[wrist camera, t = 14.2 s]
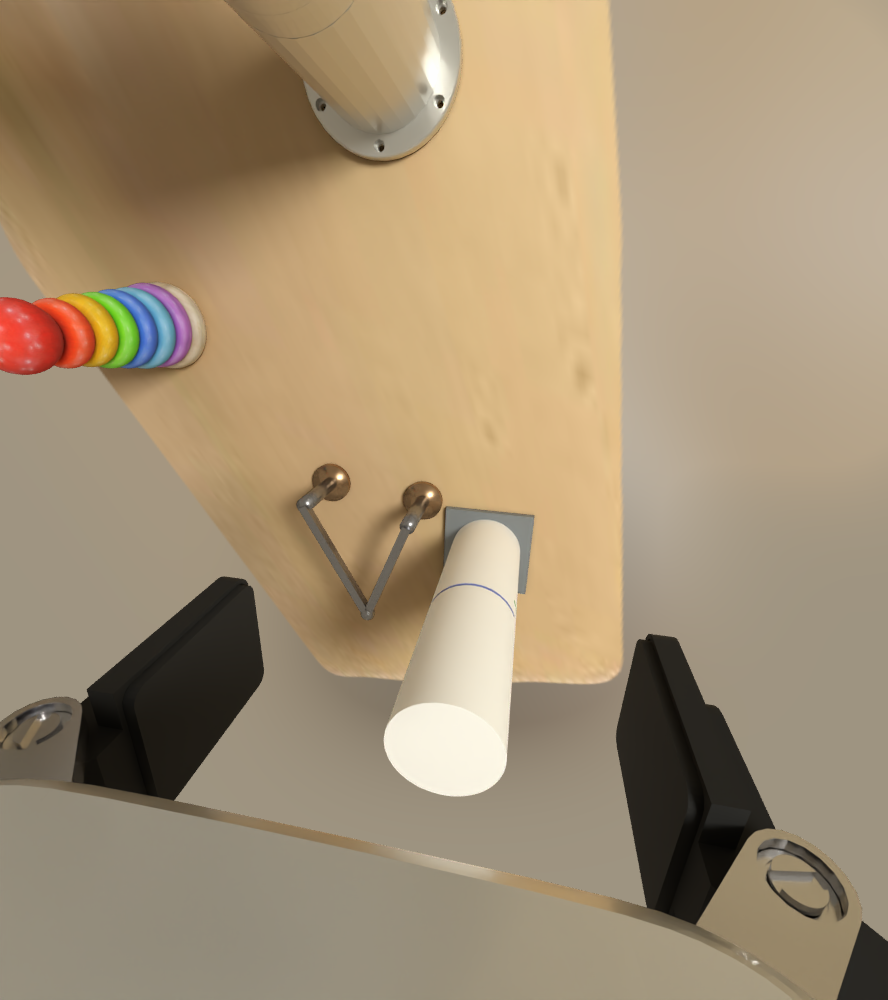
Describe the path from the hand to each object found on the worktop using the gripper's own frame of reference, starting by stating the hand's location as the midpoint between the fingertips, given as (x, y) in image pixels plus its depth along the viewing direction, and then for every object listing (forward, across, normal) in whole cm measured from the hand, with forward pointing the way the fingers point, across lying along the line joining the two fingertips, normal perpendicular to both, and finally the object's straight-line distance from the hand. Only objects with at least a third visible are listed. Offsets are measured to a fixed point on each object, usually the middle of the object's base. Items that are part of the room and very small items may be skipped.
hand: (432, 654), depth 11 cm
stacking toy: (+36, +34, -5) cm, 50 cm away
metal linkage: (+36, +13, +15) cm, 41 cm away
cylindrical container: (+36, +1, +16) cm, 39 cm away
